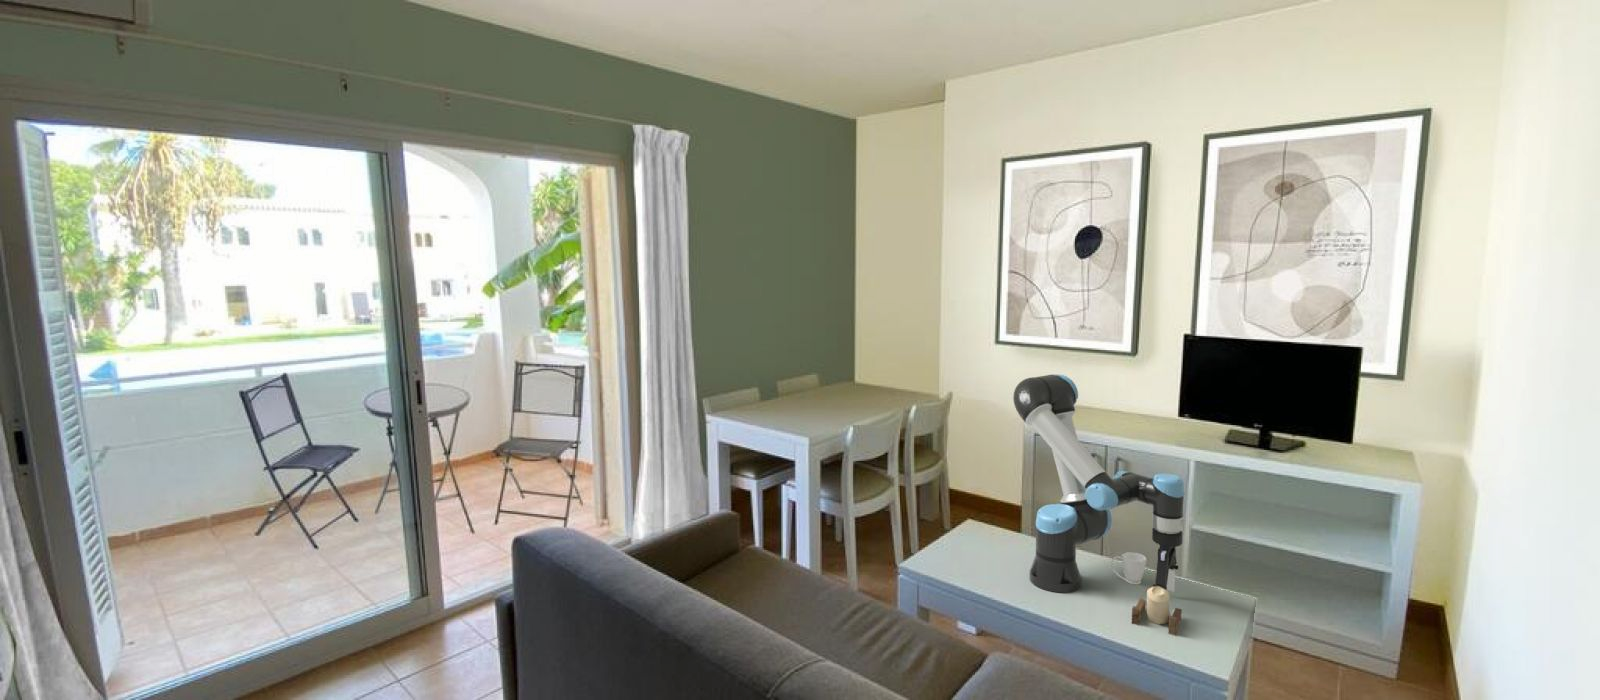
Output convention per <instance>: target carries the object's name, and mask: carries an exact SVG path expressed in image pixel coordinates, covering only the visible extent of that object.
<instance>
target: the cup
mask: <svg viewBox="0 0 1600 700" xmlns="http://www.w3.org/2000/svg"><path fill="white" fill-rule="evenodd" d="M1115 559H1119V560H1122V567H1123V572H1124V575H1125V577H1124V576H1122V575H1120V573H1118V572H1117V571H1116V570H1115V569H1114V567H1113V561H1114V560H1115ZM1146 564H1147V558H1146V556H1145V554H1141V553H1138V552H1132V551H1126V552H1124V553H1121V556H1120V555H1119V556H1118V555H1116V556H1114V557H1113V558H1112V559H1111V562H1110V569H1111V571H1112V572H1113V573H1114V574H1115V575H1116V576H1117V577H1118V578H1120V579H1122V580H1124V581H1125V582H1127V583H1129V584H1132V585H1140V584H1141V583H1142V579H1143V576H1144V573H1145V569H1146Z"/></svg>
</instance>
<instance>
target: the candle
mask: <svg viewBox="0 0 1600 700" xmlns="http://www.w3.org/2000/svg"><path fill="white" fill-rule="evenodd" d="M1170 600H1171V595H1170V593H1169V591H1168V590H1165V589H1163V588H1161V587H1159V586H1157V587H1153V586H1152V587H1150V588H1148V589H1147V591H1146V615H1147V619H1149V621H1150V622H1152V623H1153V624H1156V625H1164V624H1168V623H1169V617H1170V616H1171V615H1170V612H1171V611H1170V610H1171V609H1170V608H1171V607H1170V606H1171V605H1170V604H1171V603H1170V602H1171V601H1170Z"/></svg>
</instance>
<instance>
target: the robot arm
mask: <svg viewBox="0 0 1600 700" xmlns="http://www.w3.org/2000/svg"><path fill="white" fill-rule="evenodd" d="M1012 399H1013V404H1014V408H1015V410H1016V412H1017V414H1018V415H1019V416H1020V418H1021V419H1022V421H1023V422H1024V423H1025V424H1026V425H1027V426H1032V427H1033V428H1034V430H1035V431H1036V432H1037V433H1038V434H1039V436H1040V437H1041V438H1042V439H1043V441H1045V443H1046V444H1047V445H1048V446H1049V447H1050V449H1051V452H1052V455H1053V459H1054V463H1055V466H1056V470H1057V474H1058V478H1059V483H1060V486H1061V491H1062V493H1063V496H1062V497H1061V499H1060V501H1059V502H1060V503H1055V504H1053V503H1051V504H1047V505H1044V506H1042V507H1040V508H1039V509H1038V511H1037V513H1036V520H1035V556H1034V558H1033V561H1032V564H1031V566H1030V569H1029V581H1030V582H1031V583H1032V585H1034V586H1035V587H1037V588H1040V589H1042V590H1045V591H1049V592H1052V593H1053V592H1055V593H1070V592H1075V591H1077V590H1079V589H1080V588H1081V586H1082V576H1081V573H1080V570H1079V566H1078V563H1077V561H1076V560H1077V559H1076V557H1077V556H1076V554H1077V547H1078V546H1079V545H1082V544H1084V543H1085V544H1086V543H1088V542H1093V541H1096V540H1099V539H1100V538H1101V537H1104V536H1106V535H1107V534H1108V533H1109V531H1110V530H1111V528H1112V525H1113V516H1112V513H1111V511H1110V510H1112V509H1115V508H1117V507H1119V506H1123V505H1126V504H1130V503H1134V502H1141V503H1144V504H1147V505H1151V506H1152V522H1151V523H1152V527H1153V528H1152V531H1151V534H1152V535H1151V537H1152V541H1153V542H1154V543H1156V544H1158V545H1159V548H1158V549H1157V563H1156V574H1155V584H1152V587H1157V586H1159V587H1161V588H1163V589H1165V590H1167V591H1168V592H1173V593H1174V592H1175V590H1176V586H1175V585H1176V570H1179V565H1177V564H1178V561H1177V551H1176V550H1177V549H1176V547H1180V546H1182V544H1183V533H1184V532H1183V525H1184V524H1186V521H1185V520H1183V517H1184V500H1185V499H1184V497H1185V488H1184V487H1185V486H1184V485H1185V484H1184V480H1183V478H1182V477H1180V476H1179V475H1176V474H1172V473H1170V474H1169V473H1157V474H1155V475H1154V477H1149V476H1145V475H1142V474H1138V473H1135V472H1132V471H1125V470H1118V471H1117V472H1116V473H1115V474H1114V475H1113V476H1112V477H1111V476H1110V475H1109V474H1108V473H1107V472H1106V470H1105V469H1104V468H1103V467H1102V466H1101V465H1100V464H1099V462H1097V461H1096V459H1095V458H1094V457H1093V456H1092V454H1090V453H1089V452H1088V450H1087V449H1086V448H1085V447H1084V446H1083V444H1081V442H1080V441H1079V439H1078V435H1077V432H1076V427H1075V424H1074V420H1073V416H1074V415H1075V413H1076V409H1075V405H1076V403H1077V401H1078V399H1079V390H1078V387H1077V385H1076V384H1075V383H1074V381H1073V380H1072V379H1071V378H1070V377H1068V376H1067V375H1064V374H1058V373H1057V374H1048V375H1047V374H1046V375H1042V376H1041V375H1040V376H1035V377H1028V378H1024V379H1023V380H1021V381H1020V382H1018V384H1017V385H1016V387H1015V388H1014V391H1013V398H1012Z"/></svg>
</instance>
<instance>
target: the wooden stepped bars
mask: <svg viewBox="0 0 1600 700" xmlns="http://www.w3.org/2000/svg"><path fill="white" fill-rule="evenodd" d="M1146 609H1147V599H1143V598H1139V599H1138V602H1137V603H1136V604H1135V605H1133V606H1132V609H1131V624H1132V625H1136V626H1138V625H1139V623H1140V622H1141V619H1142V617H1143V615H1144V613H1145V611H1146ZM1182 611H1183V609H1182V608H1178V607H1175V608H1174V611H1173V612H1172V615H1170V616H1169V621H1168V635H1173V636H1175V635H1176V633H1177V631H1178V628H1179V626H1180V623H1181V621H1182V615H1183V614H1182Z"/></svg>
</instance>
